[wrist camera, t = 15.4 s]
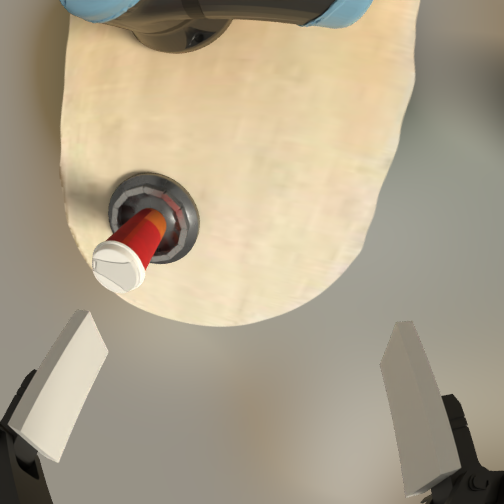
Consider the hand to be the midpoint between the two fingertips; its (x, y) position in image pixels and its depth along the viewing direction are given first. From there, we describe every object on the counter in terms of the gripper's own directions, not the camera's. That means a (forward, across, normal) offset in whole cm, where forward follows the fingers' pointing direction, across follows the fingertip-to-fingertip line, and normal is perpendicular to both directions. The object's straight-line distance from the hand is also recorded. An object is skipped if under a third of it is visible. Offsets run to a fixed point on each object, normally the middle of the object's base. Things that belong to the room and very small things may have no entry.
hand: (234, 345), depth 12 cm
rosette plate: (+35, -19, -10) cm, 41 cm away
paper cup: (+34, -19, -10) cm, 40 cm away
